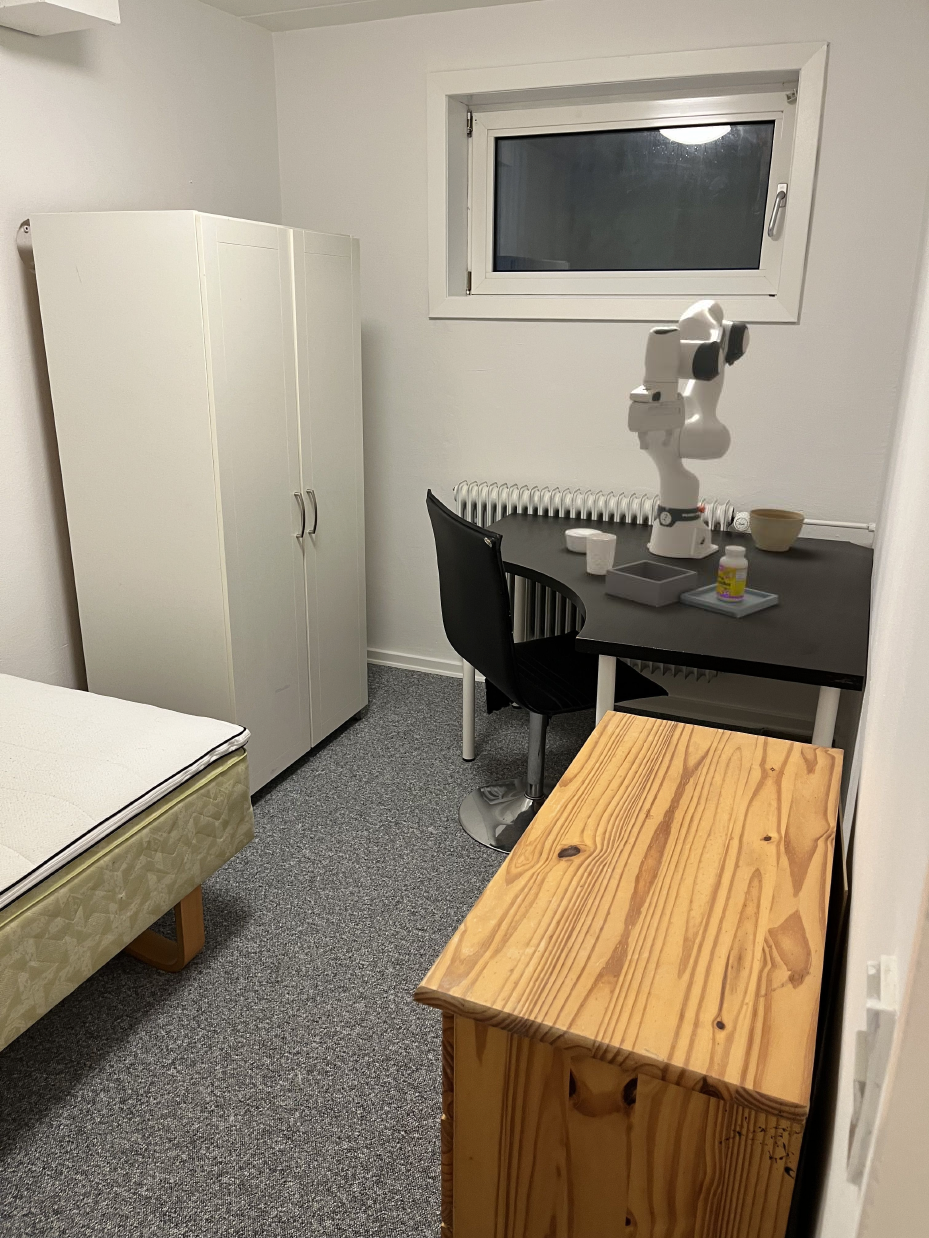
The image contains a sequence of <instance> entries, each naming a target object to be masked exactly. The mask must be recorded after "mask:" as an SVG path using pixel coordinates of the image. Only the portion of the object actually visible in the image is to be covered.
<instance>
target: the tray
mask: <svg viewBox="0 0 929 1238" xmlns="http://www.w3.org/2000/svg"><path fill="white" fill-rule="evenodd" d="M716 589H717V582H716V583H713V584H710V585H707V586H703V587H700V588H696V590H693V591H690V592H687V593H684V594H681V598H680V600H679V603H683V604H685V605H689V606H692V607H696V608H700V609H703V610H707V611H711V612H716V613H718V614H721V615H727V616H730V617H733V618H738V619H739V618H742V617H744V616H746V615H749V614H752V613H755V612H758V611H761V610H764V609H765V608H769V607H771V606H774V605H778V604H779V603H778V602H779V595H777V594H773V593H768V592H765V591H761V590H756V589H751V588H749V587H745V592H744V598H743V600H742V601H739V602H726V601H722V600H720V599H718V598H717V597H716Z"/></svg>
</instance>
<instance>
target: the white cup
mask: <svg viewBox="0 0 929 1238" xmlns="http://www.w3.org/2000/svg"><path fill="white" fill-rule="evenodd" d="M616 543H617V535H615V534H612V533H605V532H602V533H591V534H588V535H587V553H586V572H587V573H589V574H593V575H597V576H598V575H599V576H604V575H605V576H606V570H608V569H611V568H613V564H614V559H615V552H616V545H617V544H616Z"/></svg>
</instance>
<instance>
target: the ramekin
mask: <svg viewBox="0 0 929 1238" xmlns="http://www.w3.org/2000/svg"><path fill="white" fill-rule="evenodd" d="M591 533H603V532H602V531H600V530H598V529H593V528H572V529H567V530H566V531H565V533H564V536H565V538H566V546H567V548H568V550H569V551H571V552H574V553H583V554H584V553H585V554H587V535H588V534H591Z"/></svg>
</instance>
